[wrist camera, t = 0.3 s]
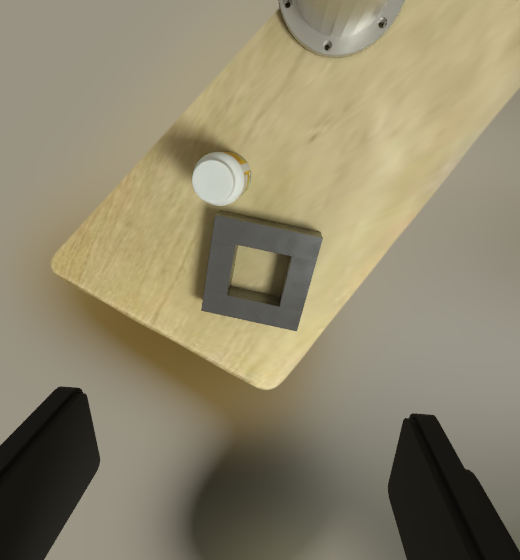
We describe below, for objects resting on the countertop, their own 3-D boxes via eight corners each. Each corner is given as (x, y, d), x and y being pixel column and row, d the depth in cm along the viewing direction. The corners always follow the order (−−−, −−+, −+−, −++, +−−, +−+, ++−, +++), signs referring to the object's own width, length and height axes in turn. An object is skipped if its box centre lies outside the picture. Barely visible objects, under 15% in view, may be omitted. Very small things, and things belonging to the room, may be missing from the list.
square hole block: (220, 210, 42) (215, 215, 39) (320, 232, 42) (322, 238, 39) (206, 300, 47) (201, 310, 44) (296, 320, 47) (296, 331, 44)
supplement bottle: (258, 187, 40) (249, 198, 31) (219, 204, 41) (200, 219, 33) (240, 143, 39) (225, 142, 30) (200, 162, 40) (174, 166, 31)
